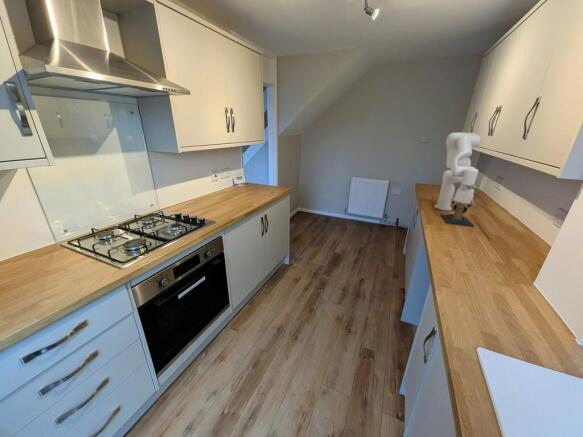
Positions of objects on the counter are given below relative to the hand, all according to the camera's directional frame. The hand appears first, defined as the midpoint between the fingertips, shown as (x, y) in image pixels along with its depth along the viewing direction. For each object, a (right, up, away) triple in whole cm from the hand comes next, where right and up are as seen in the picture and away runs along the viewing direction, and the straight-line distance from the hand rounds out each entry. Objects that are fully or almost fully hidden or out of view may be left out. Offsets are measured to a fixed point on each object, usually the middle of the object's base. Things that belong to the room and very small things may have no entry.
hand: (459, 211), depth 169 cm
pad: (0, -7, +3) cm, 7 cm away
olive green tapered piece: (0, -6, +2) cm, 6 cm away
